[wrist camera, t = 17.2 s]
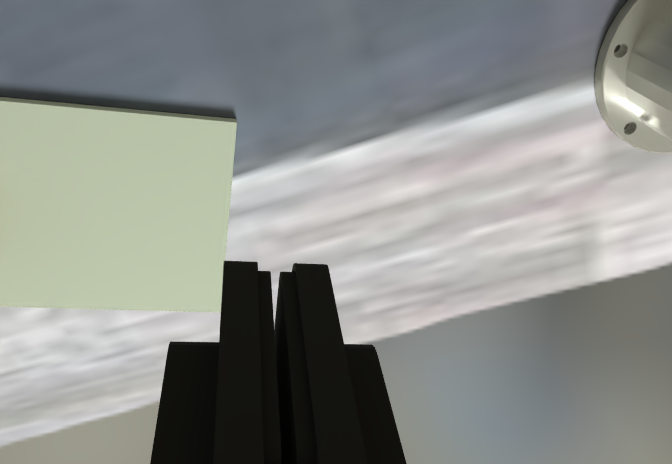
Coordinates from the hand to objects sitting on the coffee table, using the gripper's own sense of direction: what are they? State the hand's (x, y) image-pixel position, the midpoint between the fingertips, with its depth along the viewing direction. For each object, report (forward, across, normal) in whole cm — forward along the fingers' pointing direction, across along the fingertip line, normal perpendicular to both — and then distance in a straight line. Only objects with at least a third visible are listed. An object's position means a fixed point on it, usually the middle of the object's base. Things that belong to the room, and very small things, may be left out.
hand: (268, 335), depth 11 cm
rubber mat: (+28, +12, +13) cm, 33 cm away
